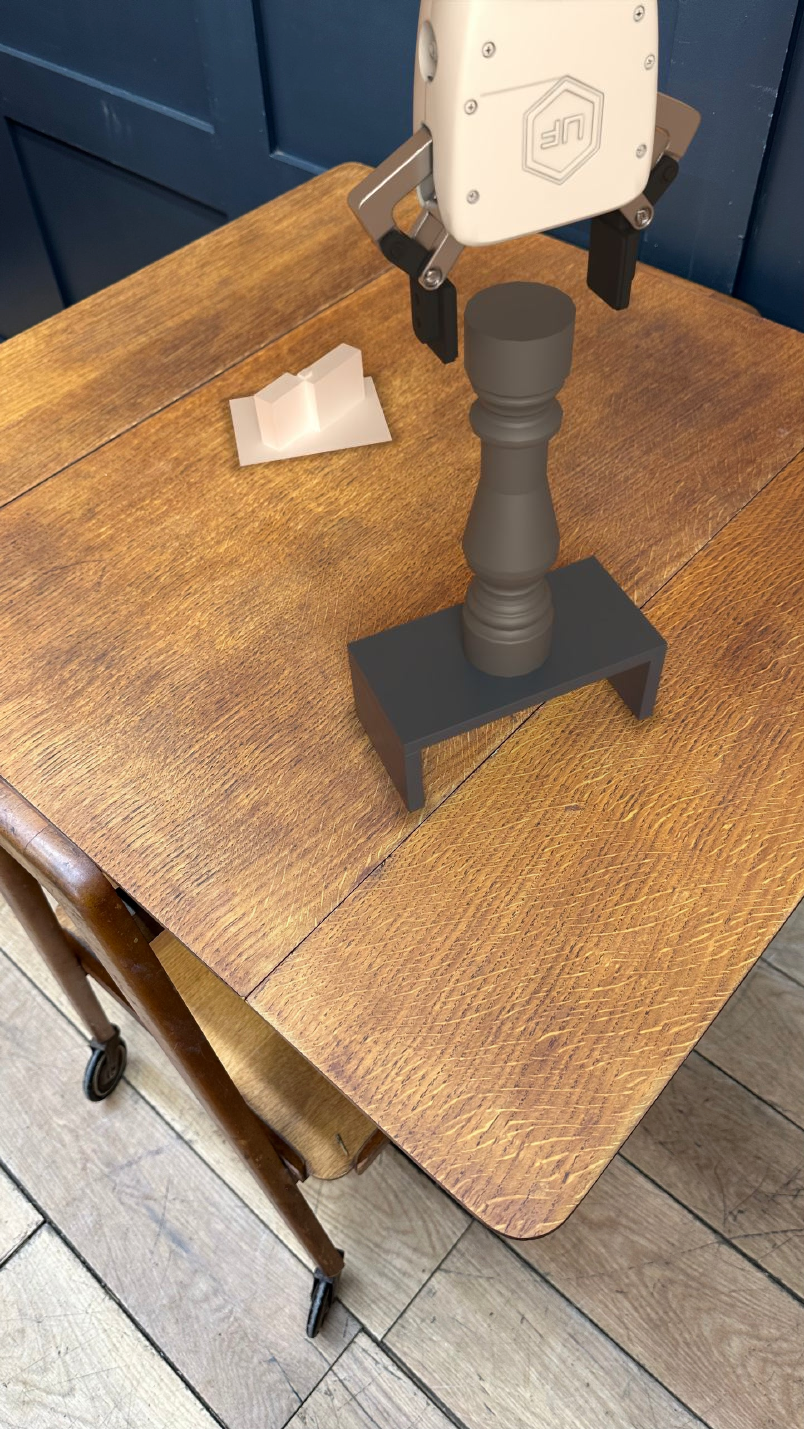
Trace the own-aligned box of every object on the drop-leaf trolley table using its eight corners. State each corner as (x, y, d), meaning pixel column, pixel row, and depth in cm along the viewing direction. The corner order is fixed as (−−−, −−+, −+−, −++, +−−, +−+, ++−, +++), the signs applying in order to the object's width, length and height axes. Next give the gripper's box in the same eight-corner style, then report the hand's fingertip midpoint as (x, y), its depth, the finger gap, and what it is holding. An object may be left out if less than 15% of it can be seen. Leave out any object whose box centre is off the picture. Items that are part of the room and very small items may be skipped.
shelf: (584, 628, 83) (594, 554, 77) (652, 715, 77) (668, 643, 71) (356, 714, 79) (346, 643, 72) (409, 813, 73) (403, 745, 67)
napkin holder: (370, 375, 107) (366, 324, 102) (393, 440, 100) (390, 388, 95) (227, 400, 105) (216, 350, 101) (240, 467, 98) (229, 416, 94)
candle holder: (567, 660, 70) (604, 325, 51) (484, 688, 69) (489, 356, 50) (527, 601, 74) (547, 267, 55) (448, 627, 73) (439, 296, 53)
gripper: (365, -18, 35) (398, 410, 48) (787, -111, 39) (710, 312, 52) (291, -71, 40) (340, 335, 53) (676, -149, 43) (631, 249, 57)
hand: (524, 323), depth 52 cm, fingers open, 9 cm apart
